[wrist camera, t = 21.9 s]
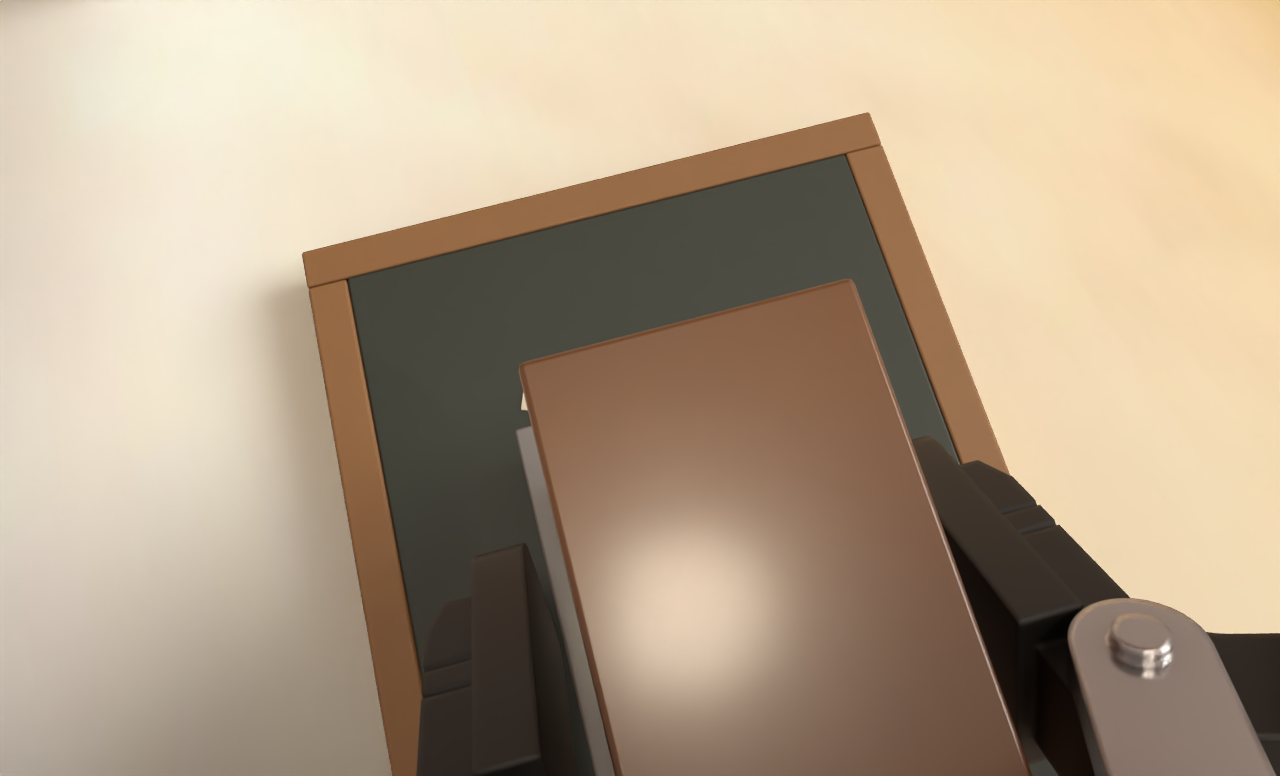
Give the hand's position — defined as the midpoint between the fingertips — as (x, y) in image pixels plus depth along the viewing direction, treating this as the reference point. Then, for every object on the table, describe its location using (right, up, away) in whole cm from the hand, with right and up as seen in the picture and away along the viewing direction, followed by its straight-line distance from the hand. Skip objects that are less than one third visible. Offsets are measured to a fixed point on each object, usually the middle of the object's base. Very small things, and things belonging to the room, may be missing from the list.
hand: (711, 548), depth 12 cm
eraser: (+1, -3, +3) cm, 4 cm away
